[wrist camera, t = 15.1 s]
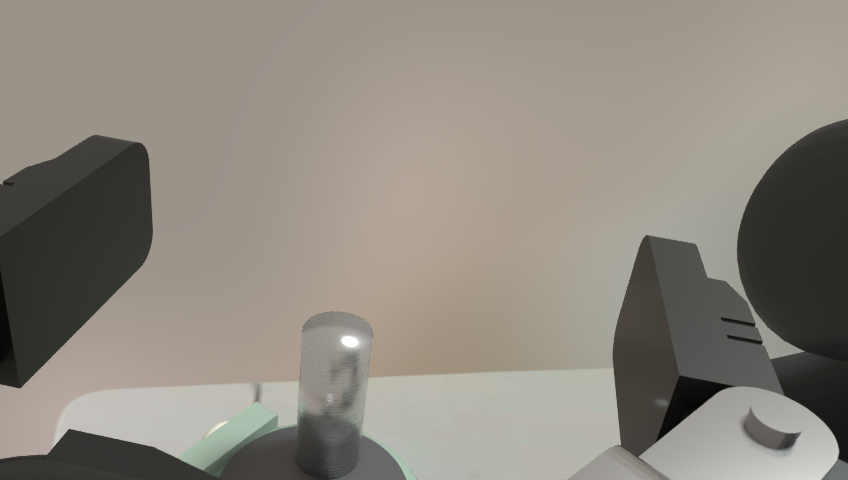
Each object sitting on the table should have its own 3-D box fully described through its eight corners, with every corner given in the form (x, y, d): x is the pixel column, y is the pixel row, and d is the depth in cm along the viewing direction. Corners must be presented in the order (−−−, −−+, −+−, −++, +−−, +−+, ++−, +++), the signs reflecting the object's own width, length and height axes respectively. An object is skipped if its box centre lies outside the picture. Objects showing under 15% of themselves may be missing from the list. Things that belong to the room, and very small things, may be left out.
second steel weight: (372, 452, 51) (386, 330, 46) (331, 489, 48) (343, 362, 43) (323, 423, 53) (333, 303, 48) (281, 457, 50) (287, 332, 45)
